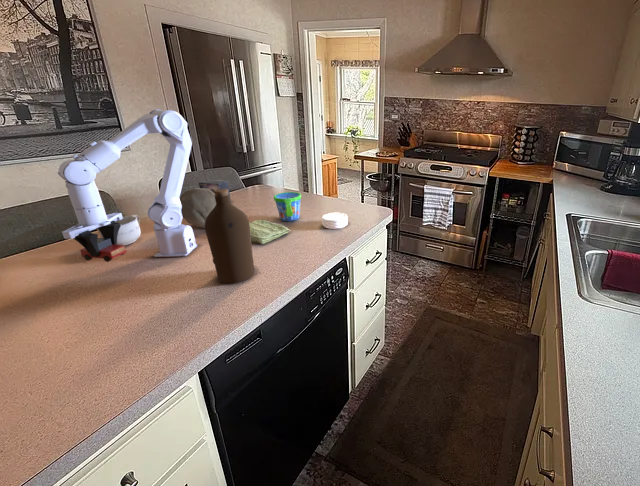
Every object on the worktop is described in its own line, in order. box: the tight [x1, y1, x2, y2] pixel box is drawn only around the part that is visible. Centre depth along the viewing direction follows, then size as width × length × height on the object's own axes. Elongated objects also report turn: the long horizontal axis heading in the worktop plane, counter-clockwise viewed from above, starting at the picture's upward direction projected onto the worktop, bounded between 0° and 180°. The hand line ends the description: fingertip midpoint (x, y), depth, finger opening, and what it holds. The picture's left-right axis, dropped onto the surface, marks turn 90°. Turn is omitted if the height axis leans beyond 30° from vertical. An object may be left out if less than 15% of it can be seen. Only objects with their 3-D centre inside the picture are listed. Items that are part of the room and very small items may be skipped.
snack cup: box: [273, 191, 302, 222], centre depth 133 cm, size 16×10×10 cm
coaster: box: [321, 212, 349, 230], centre depth 129 cm, size 10×10×4 cm
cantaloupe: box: [179, 187, 216, 229], centre depth 123 cm, size 14×14×15 cm
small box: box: [198, 178, 232, 203], centre depth 151 cm, size 11×6×10 cm, turn 81°
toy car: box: [79, 237, 127, 263], centre depth 90 cm, size 9×5×5 cm, turn 84°
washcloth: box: [249, 219, 290, 245], centre depth 118 cm, size 13×18×3 cm
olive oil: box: [204, 188, 255, 284], centre depth 88 cm, size 11×11×25 cm
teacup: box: [96, 214, 142, 246], centre depth 111 cm, size 14×11×8 cm
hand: (104, 252), depth 91 cm, fingers closed on toy car, 4 cm apart
